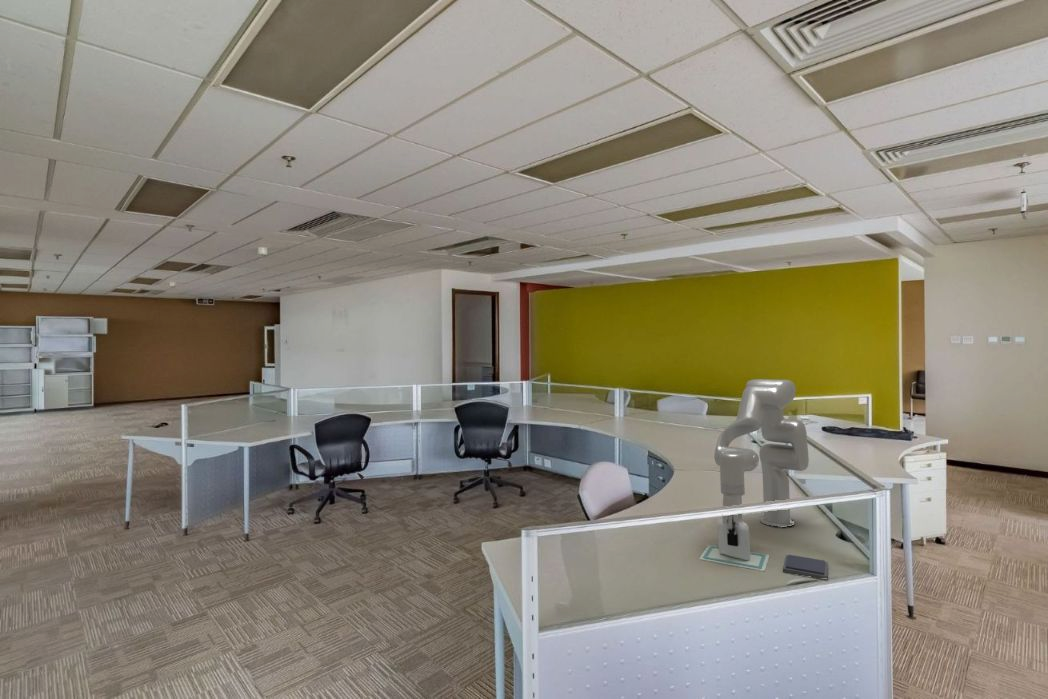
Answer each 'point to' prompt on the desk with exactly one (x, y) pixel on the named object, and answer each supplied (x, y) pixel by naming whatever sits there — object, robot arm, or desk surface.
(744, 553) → the photo printer
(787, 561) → the ink pad
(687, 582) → the desk surface
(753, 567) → the teal bordered white mat
